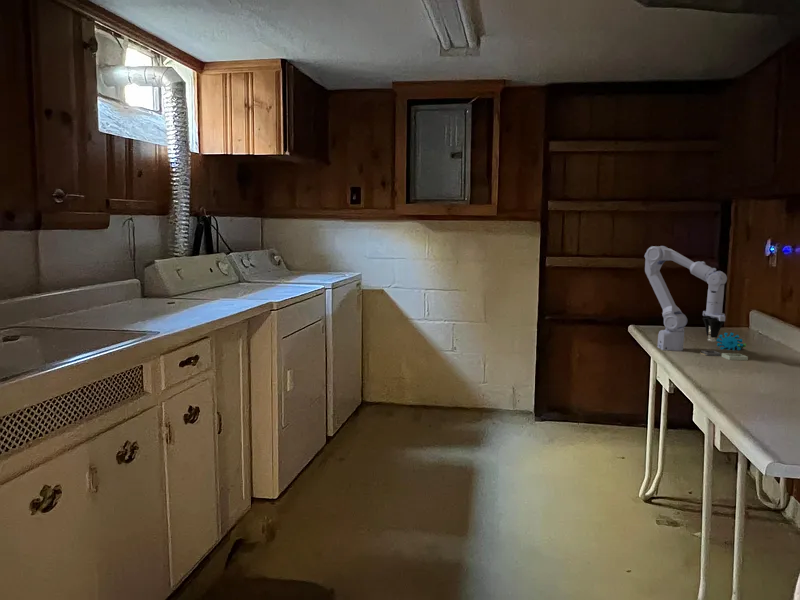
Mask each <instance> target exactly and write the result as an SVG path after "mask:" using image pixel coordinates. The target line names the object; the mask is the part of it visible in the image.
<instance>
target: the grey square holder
mask: <svg viewBox="0 0 800 600" xmlns="http://www.w3.org/2000/svg"><path fill="white" fill-rule="evenodd" d="M699 354H701V355H702V356H706V357H722V353H721V352H718V351H716V350H701V349H700V352H699Z"/></svg>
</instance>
